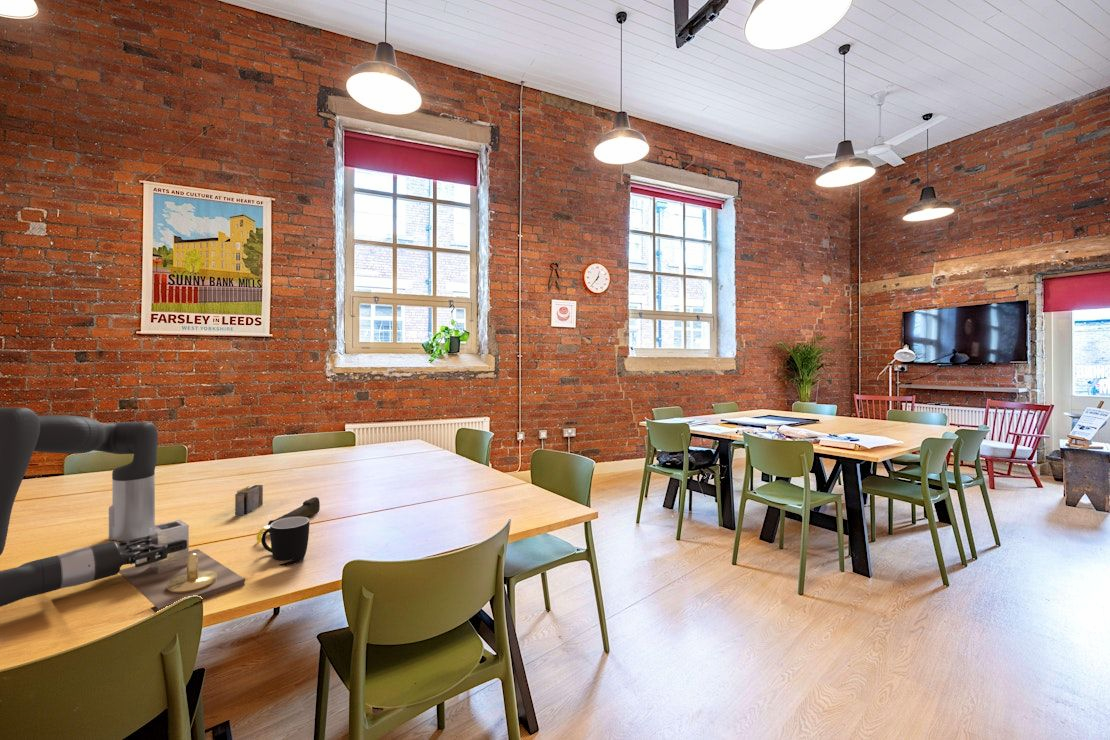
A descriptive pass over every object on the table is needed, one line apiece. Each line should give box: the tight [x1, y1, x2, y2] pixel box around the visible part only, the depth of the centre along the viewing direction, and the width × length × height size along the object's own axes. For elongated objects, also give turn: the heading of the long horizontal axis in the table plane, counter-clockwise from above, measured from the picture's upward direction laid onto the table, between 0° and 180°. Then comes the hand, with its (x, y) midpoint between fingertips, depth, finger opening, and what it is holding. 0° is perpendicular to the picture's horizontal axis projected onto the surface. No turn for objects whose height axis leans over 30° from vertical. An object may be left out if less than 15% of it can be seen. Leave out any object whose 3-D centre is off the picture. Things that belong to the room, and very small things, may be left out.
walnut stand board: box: [119, 548, 246, 613], centre depth 111 cm, size 28×16×10 cm, turn 55°
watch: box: [256, 524, 271, 548], centre depth 131 cm, size 6×3×6 cm, turn 85°
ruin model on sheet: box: [234, 484, 264, 517], centre depth 161 cm, size 11×3×10 cm, turn 3°
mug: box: [261, 517, 310, 566], centre depth 123 cm, size 12×9×10 cm
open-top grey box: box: [149, 519, 190, 574], centre depth 115 cm, size 6×6×10 cm
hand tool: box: [267, 496, 321, 534], centre depth 151 cm, size 23×5×6 cm, turn 172°
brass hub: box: [167, 553, 217, 594], centre depth 107 cm, size 9×9×7 cm
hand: (181, 540), depth 117 cm, fingers closed on open-top grey box, 6 cm apart
